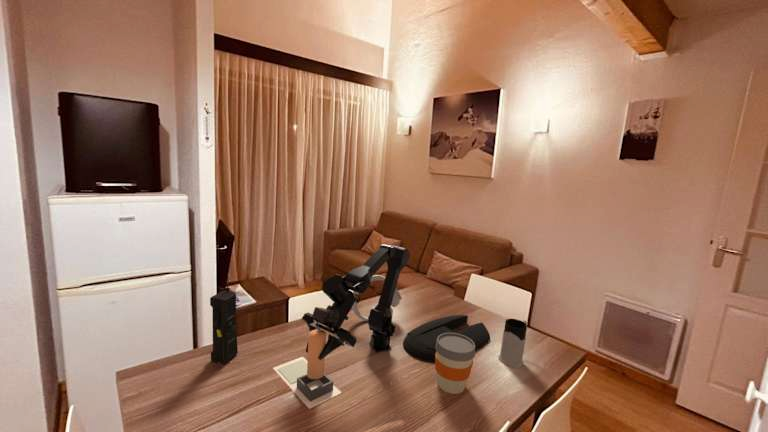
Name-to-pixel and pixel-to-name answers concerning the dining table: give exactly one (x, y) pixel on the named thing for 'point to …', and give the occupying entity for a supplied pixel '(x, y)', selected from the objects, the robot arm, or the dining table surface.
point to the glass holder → (513, 343)
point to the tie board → (306, 383)
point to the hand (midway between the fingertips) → (312, 355)
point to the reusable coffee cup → (453, 361)
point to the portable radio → (224, 326)
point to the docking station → (425, 336)
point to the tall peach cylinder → (315, 354)
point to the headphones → (395, 303)
